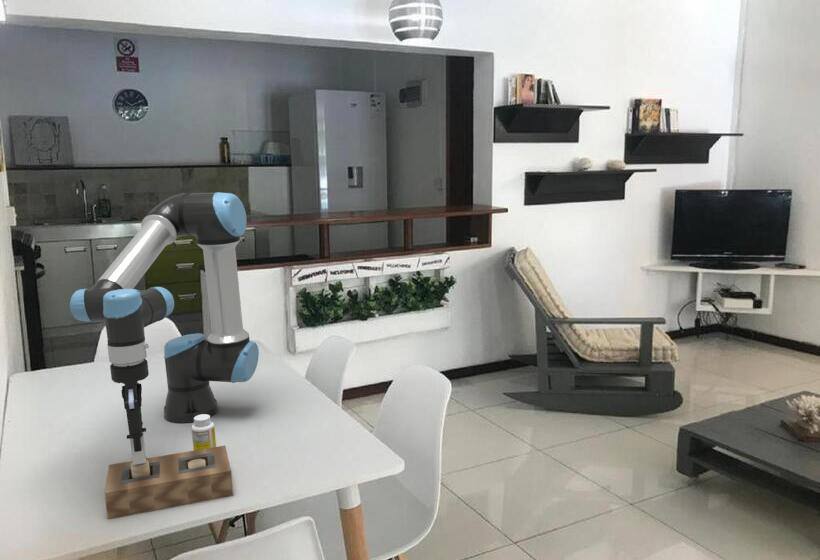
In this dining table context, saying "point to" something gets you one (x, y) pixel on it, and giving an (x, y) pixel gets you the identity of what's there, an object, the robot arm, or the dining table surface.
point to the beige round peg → (140, 470)
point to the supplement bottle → (203, 432)
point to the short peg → (196, 463)
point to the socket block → (168, 482)
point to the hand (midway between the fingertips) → (139, 462)
